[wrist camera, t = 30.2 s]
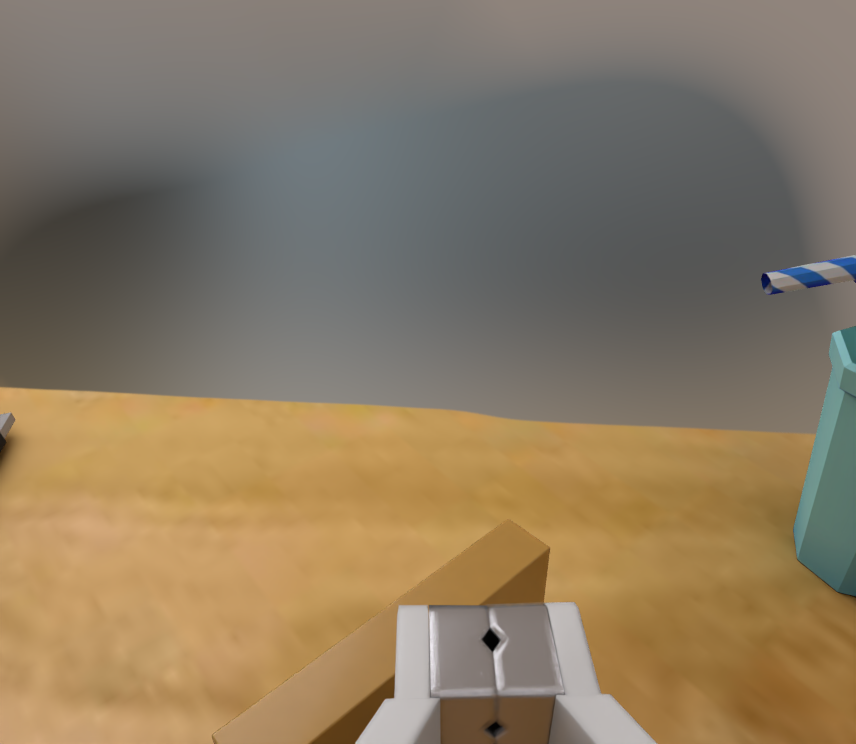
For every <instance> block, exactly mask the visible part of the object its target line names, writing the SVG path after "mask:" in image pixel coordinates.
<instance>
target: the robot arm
mask: <svg viewBox="0 0 856 744" xmlns="http://www.w3.org/2000/svg"><path fill="white" fill-rule="evenodd" d="M355 744H657V743H656V742H655V741H654V740H653V739H652V738H651V737H650V736H649V735H648V733H647V732H646V731H645V730H644V729H643V728H642V727H641V726H640V725H639V724H638V723H637V722H636V721H635V720H634V719H633V718H632V717H631V716H630V714H629V713H628V712H627V711H626V710H625V709H624V708H623V707H622V706H621V705H620V704H619V703H618V702H617V701H616V700H615V699H614V698H613V697H612V696H611V694H601V692H600V688H599V684H598V681H597V677H596V673H595V669H594V665H593V662H592V658H591V654H590V650H589V646H588V643H587V639H586V635H585V631H584V627H583V624H582V620H581V616H580V612H579V608H578V607H577V605H576V604H575V602H559V603H543V602H532V603H504V604H486V605H429V615H428V605H399V607H398V613H397V633H396V662H395V692H394V698H391V699H385V700H384V702H383V703H382V704H381V706H380V707H379V709H378V710H377V712H376V713H375V715H374V716H373V718H372V719H371V721H370V722H369V724H368V725H367V727H366V728H365V730H364V731H363V732H362V734H361V735H360V737H359V738H358V740H357V741H356V743H355Z"/></svg>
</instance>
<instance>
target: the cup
mask: <svg viewBox="0 0 856 744" xmlns="http://www.w3.org/2000/svg"><path fill="white" fill-rule="evenodd" d="M851 280H853V281H854V282H855V283H856V255H853V256H849V257H843V258H838V259H833V260H828V261H824V262H818V263H814V264H808V265H803V266H798V267H793V268H788V269H783V270H778V271H773V272H768V273H763V275H762V278H761V281H762V286H763V289H764V291H765V292H766V294H770V295H771V294H777V293H783V292H789V291H794V290H800V289H806V288H811V287H816V286H823V285H828V284H834V283H840V282H845V281H851ZM829 357H830V360H831V363H832V367H833V368H832V372H831V376H830V380H829V384H828V389H827V392H826V396H825V401H824V405H823V409H822V413H821V417H820V421H819V425H818V429H817V434H816V438H815V442H814V446H813V450H812V454H811V458H810V462H809V467H808V471H807V475H806V479H805V483H804V487H803V491H802V495H801V500H800V504H799V508H798V512H797V516H796V520H795V524H794V529H793V532H794V539H795V546H796V552H797V559H798V560H799V561H800V562H801V563H802V564H804V565H805V566H806V567H807V568H809V569H810V570H811V571H812V572H814V573H815V574H816V575H817V576H818V577H820V578H821V579H822V580H823V581H825V582H826V583H827V584H828V585H830V586H831V587H832V588H833V589H835V590H836V591H837V592H840V593H844V594H848V595H852V596H856V326H854V327H850V328H847V329H843V330H840V331H837V332H835V333H833V334H832V339H831V344H830V350H829Z"/></svg>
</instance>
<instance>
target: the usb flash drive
mask: <svg viewBox="0 0 856 744" xmlns="http://www.w3.org/2000/svg"><path fill="white" fill-rule="evenodd" d="M14 422H15V418H14V416H13V415H12V413H6V414H1V415H0V452H1V450H2V449H3V447H4V445H5V444H6V440H5V437H6V435H7V434H8V432H9V430H10V429H11V427H12V425H13V423H14Z"/></svg>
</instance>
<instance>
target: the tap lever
mask: <svg viewBox="0 0 856 744" xmlns="http://www.w3.org/2000/svg"><path fill="white" fill-rule="evenodd" d="M549 553H550V547H549V546H547V545H546V544H544V543H543V542H542V541H540V540H539V539H537V538H536V537H534V536H533V535H531V534H530V533H529V532H527V531H526V530H524V529H523V528H521V527H520V526H518V525H517V524H515V523H514V522H513V521H511V520H510V519H507V520H506V521H504V522H503V523H501V524H500V525H499V526H497V527H496V528H495V529H493V530H492V531H490V532H489V533H488V534H486V535H485V536H484V537H482V538H481V539H480V540H478V541H477V542H475V543H474V544H473V545H471V546H470V547H469V548H467V549H466V550H464V551H463V552H462V553H460V554H459V555H458V556H456V557H455V558H454V559H452V560H451V561H449V562H448V563H447V564H445V565H444V566H443V567H441V568H440V569H438V570H437V571H436V572H434V573H433V574H432V575H430V576H429V577H427V578H426V579H425V580H423V581H422V582H421V583H419V584H418V585H417V586H415V587H414V588H412V589H411V590H410V591H408V592H407V593H406V594H404V595H403V596H401V597H400V598H399V599H397V600H396V601H395V602H393V603H392V604H390V605H389V606H388V607H386V608H385V609H384V610H382V611H381V612H380V613H378V614H377V615H375V616H374V617H373V618H371V619H370V620H369V621H367V622H366V623H364V624H363V625H362V626H360V627H359V628H358V629H356V630H355V631H353V632H352V633H351V634H349V635H348V636H347V637H345V638H344V639H343V640H341V641H340V642H338V643H337V644H336V645H334V646H333V647H332V648H330V649H329V650H327V651H326V652H325V653H323V654H322V655H321V656H319V657H318V658H317V659H315V660H314V661H312V662H311V663H310V664H308V665H307V666H306V667H304V668H303V669H301V670H300V671H299V672H297V673H296V674H295V675H293V676H292V677H290V678H289V679H288V680H286V681H285V682H284V683H282V684H281V685H280V686H278V687H277V688H275V689H274V690H273V691H271V692H270V693H269V694H267V695H266V696H264V697H263V698H262V699H260V700H259V701H258V702H256V703H255V704H253V705H252V706H251V707H249V708H248V709H247V710H245V711H244V712H243V713H241V714H240V715H238V716H237V717H236V718H234V719H233V720H232V721H230V722H229V723H227V724H226V725H225V726H223V727H222V728H221V729H219V730H218V731H217V732H215V733H214V734H213V735H212V739H213V742H214V744H355V743H356V741H357V740H358V738H359V737H360V735H361V734H362V732H363V731H364V730H365V728H366V727H367V725H368V724H369V722H370V721H371V719H372V718H373V716H374V715H375V713H376V712H377V710H378V709H379V707H380V706H381V704H382V703H383V702H384V700H385V699H391V698H394V692H395V662H396V633H397V613H398V607H399V605H428V615H429V605H486V604H504V603H532V602H543V603H544V595H545V587H546V578H547V570H548V561H549Z"/></svg>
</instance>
